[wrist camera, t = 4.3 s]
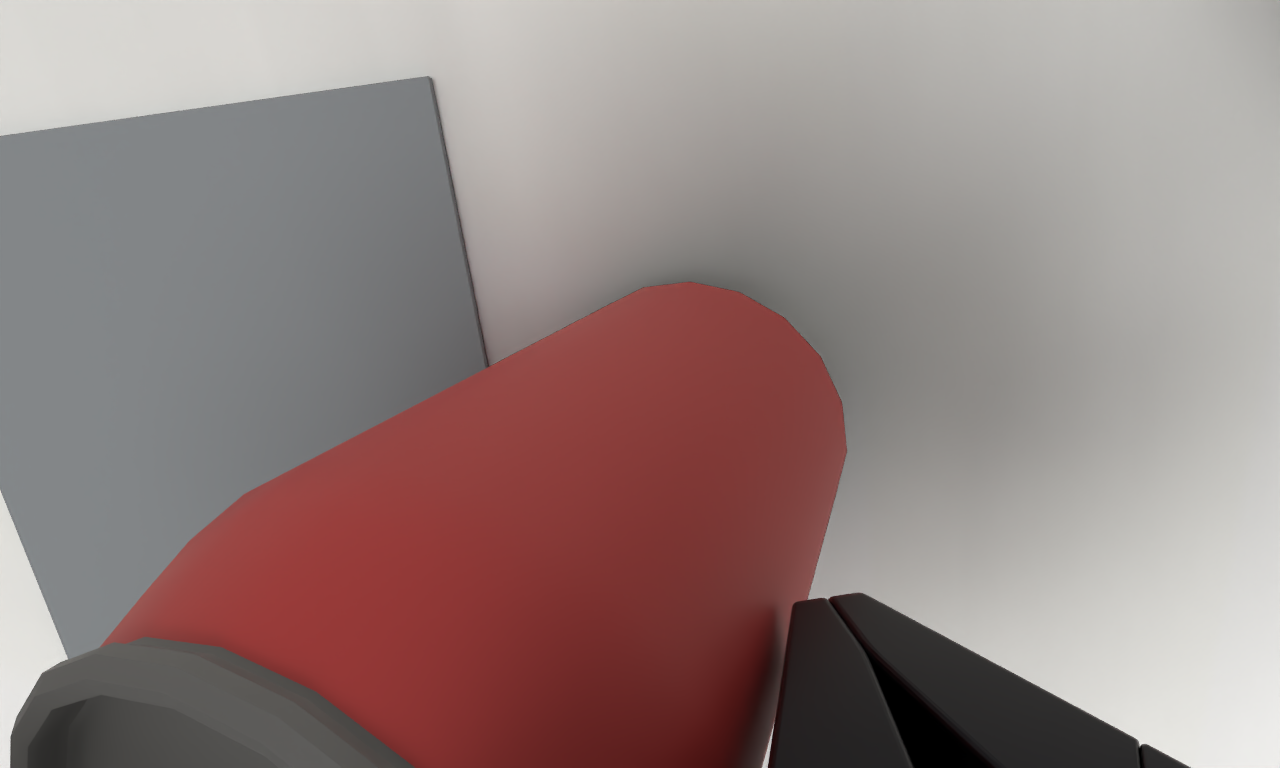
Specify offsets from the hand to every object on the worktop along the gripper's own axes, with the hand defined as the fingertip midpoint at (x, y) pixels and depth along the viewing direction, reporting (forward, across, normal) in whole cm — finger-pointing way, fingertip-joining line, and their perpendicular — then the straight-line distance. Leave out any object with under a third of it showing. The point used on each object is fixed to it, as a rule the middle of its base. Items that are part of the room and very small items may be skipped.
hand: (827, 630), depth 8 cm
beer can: (+8, 0, 0) cm, 8 cm away
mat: (+9, +11, 0) cm, 15 cm away
